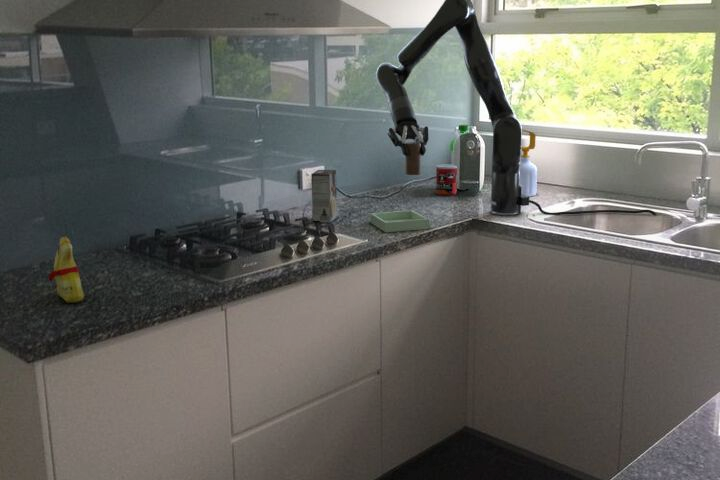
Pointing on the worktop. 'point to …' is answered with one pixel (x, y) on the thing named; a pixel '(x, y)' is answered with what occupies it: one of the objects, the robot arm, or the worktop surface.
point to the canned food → (446, 180)
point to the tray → (399, 221)
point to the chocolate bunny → (66, 273)
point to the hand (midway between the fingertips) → (415, 154)
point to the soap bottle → (528, 170)
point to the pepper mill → (413, 158)
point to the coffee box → (324, 195)
